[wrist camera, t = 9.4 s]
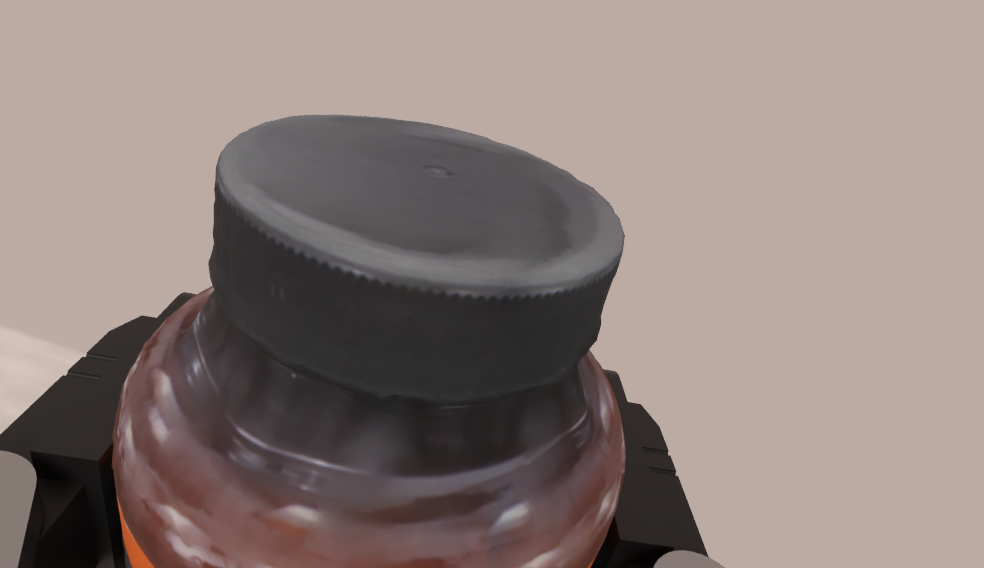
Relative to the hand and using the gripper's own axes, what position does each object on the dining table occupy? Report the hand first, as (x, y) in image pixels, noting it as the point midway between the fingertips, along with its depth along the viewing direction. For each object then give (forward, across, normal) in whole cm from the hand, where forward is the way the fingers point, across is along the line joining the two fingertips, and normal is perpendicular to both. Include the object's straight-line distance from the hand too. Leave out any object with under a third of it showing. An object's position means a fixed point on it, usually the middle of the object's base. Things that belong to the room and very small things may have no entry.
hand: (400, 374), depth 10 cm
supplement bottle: (-2, 0, +7) cm, 7 cm away
